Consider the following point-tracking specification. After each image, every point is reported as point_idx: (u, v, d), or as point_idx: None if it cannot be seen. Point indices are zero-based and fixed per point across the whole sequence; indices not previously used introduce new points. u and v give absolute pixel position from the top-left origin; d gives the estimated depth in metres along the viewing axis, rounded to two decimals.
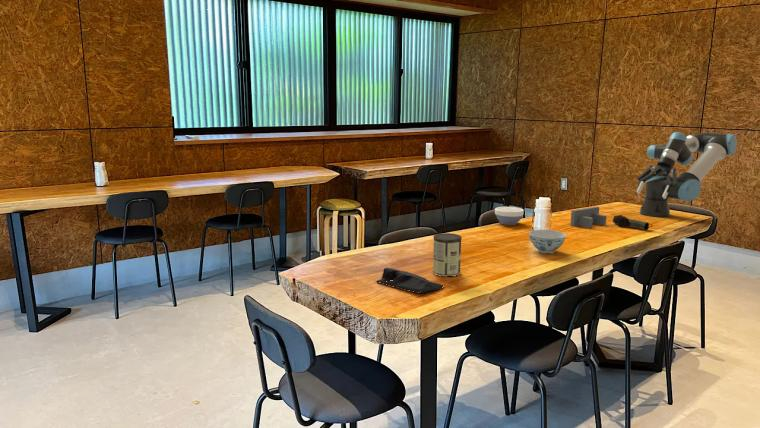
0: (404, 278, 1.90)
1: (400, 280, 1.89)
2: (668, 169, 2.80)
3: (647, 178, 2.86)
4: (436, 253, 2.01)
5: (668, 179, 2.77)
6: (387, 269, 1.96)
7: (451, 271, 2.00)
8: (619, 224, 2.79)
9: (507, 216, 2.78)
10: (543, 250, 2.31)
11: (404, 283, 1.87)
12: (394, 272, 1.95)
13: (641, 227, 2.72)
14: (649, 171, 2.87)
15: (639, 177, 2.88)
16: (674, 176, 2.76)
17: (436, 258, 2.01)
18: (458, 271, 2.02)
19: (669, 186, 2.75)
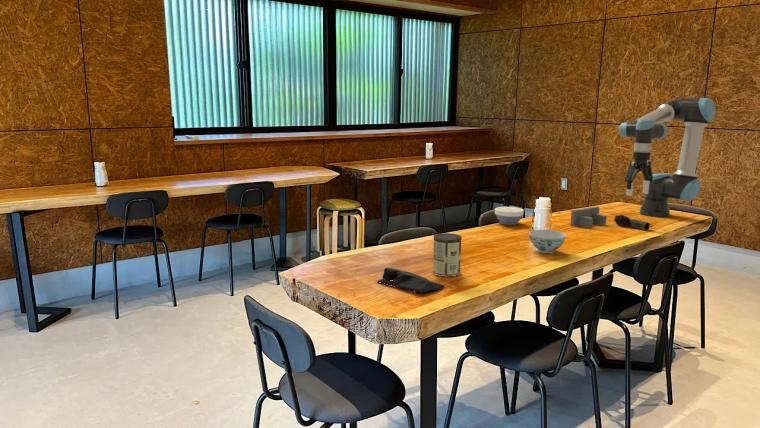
0: (405, 278, 1.90)
1: (401, 280, 1.89)
2: (646, 163, 2.71)
3: None
4: (436, 253, 2.01)
5: (648, 174, 2.73)
6: (388, 269, 1.96)
7: (451, 271, 2.00)
8: (620, 224, 2.80)
9: (507, 216, 2.78)
10: (543, 250, 2.31)
11: (405, 283, 1.87)
12: (395, 272, 1.95)
13: (642, 227, 2.73)
14: None
15: (630, 179, 2.66)
16: (651, 170, 2.74)
17: (436, 258, 2.01)
18: (458, 271, 2.02)
19: None
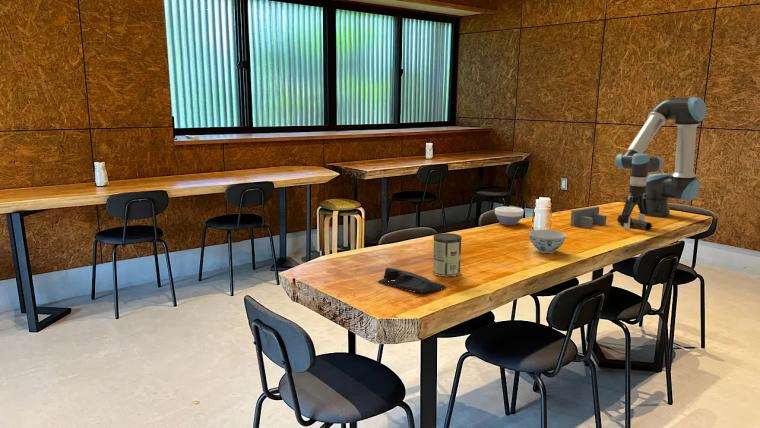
0: (406, 278, 1.90)
1: (402, 280, 1.90)
2: (642, 196, 2.74)
3: None
4: (436, 253, 2.01)
5: (643, 208, 2.76)
6: (389, 269, 1.96)
7: (451, 271, 2.00)
8: (622, 223, 2.81)
9: (507, 216, 2.78)
10: (543, 250, 2.31)
11: (406, 283, 1.87)
12: (396, 272, 1.95)
13: (643, 227, 2.73)
14: None
15: (627, 213, 2.69)
16: (646, 203, 2.77)
17: (436, 258, 2.01)
18: (458, 271, 2.02)
19: None
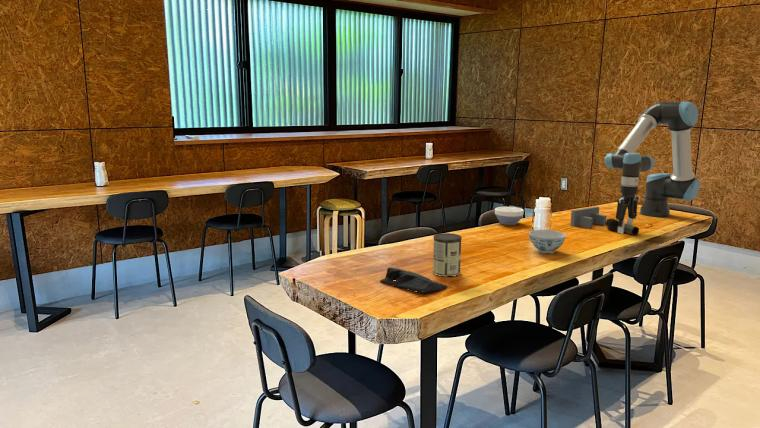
0: (407, 278, 1.90)
1: (403, 280, 1.90)
2: (634, 197, 2.65)
3: None
4: (436, 253, 2.01)
5: (633, 211, 2.66)
6: (391, 269, 1.96)
7: (451, 271, 2.00)
8: (609, 227, 2.71)
9: (507, 216, 2.78)
10: (543, 250, 2.31)
11: (407, 283, 1.87)
12: (397, 272, 1.95)
13: (629, 231, 2.63)
14: None
15: (621, 217, 2.62)
16: (636, 206, 2.67)
17: (436, 258, 2.01)
18: (458, 271, 2.02)
19: None
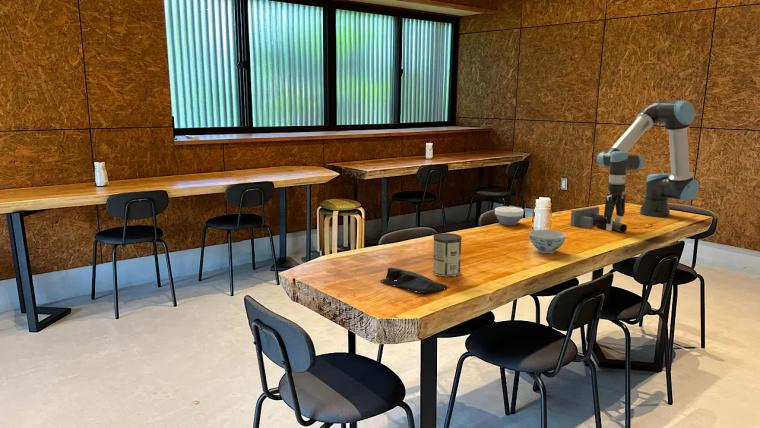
0: (408, 278, 1.90)
1: (404, 280, 1.90)
2: (621, 195, 2.70)
3: None
4: (436, 253, 2.01)
5: (621, 208, 2.71)
6: (391, 269, 1.96)
7: (451, 271, 2.00)
8: (598, 225, 2.76)
9: (507, 216, 2.78)
10: (543, 250, 2.31)
11: (407, 283, 1.87)
12: (398, 272, 1.95)
13: (617, 228, 2.67)
14: None
15: (609, 214, 2.67)
16: (624, 204, 2.73)
17: (436, 258, 2.01)
18: (458, 271, 2.02)
19: None
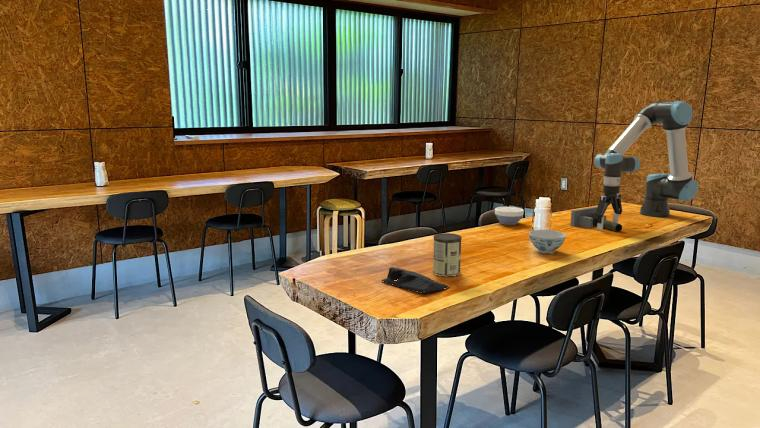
0: (409, 278, 1.90)
1: (405, 280, 1.90)
2: (616, 196, 2.73)
3: None
4: (436, 253, 2.01)
5: (617, 208, 2.75)
6: (392, 269, 1.96)
7: (451, 271, 2.00)
8: (594, 224, 2.78)
9: (507, 216, 2.78)
10: (543, 250, 2.31)
11: (408, 283, 1.87)
12: (399, 272, 1.95)
13: (613, 228, 2.70)
14: None
15: (600, 213, 2.68)
16: (620, 203, 2.76)
17: (436, 258, 2.01)
18: (458, 271, 2.02)
19: None
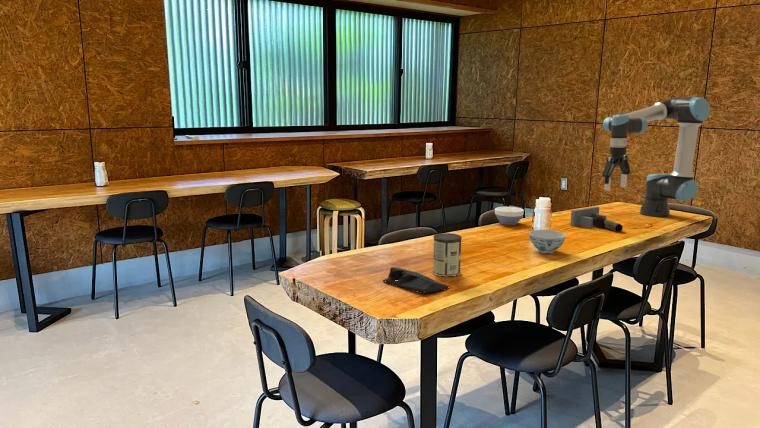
0: (409, 278, 1.90)
1: (405, 280, 1.90)
2: (623, 158, 2.75)
3: None
4: (436, 253, 2.01)
5: (625, 168, 2.77)
6: (393, 269, 1.97)
7: (451, 271, 2.00)
8: (595, 224, 2.78)
9: (507, 216, 2.78)
10: (543, 250, 2.31)
11: (409, 283, 1.87)
12: (400, 272, 1.95)
13: (613, 228, 2.69)
14: None
15: (607, 174, 2.69)
16: (628, 164, 2.78)
17: (436, 258, 2.01)
18: (458, 271, 2.02)
19: (626, 175, 2.79)
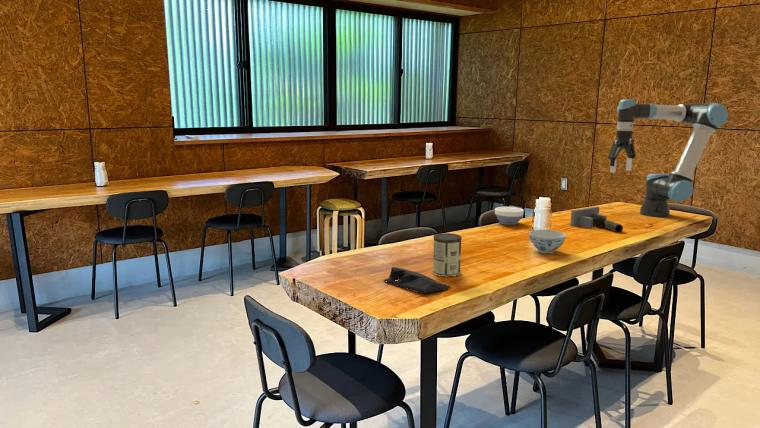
0: (410, 278, 1.90)
1: (406, 280, 1.90)
2: (629, 141, 2.83)
3: None
4: (436, 253, 2.01)
5: (631, 152, 2.86)
6: (394, 268, 1.97)
7: (451, 271, 2.00)
8: (595, 224, 2.78)
9: (507, 216, 2.78)
10: (543, 250, 2.31)
11: (409, 283, 1.87)
12: (401, 272, 1.95)
13: (613, 228, 2.69)
14: None
15: (613, 156, 2.78)
16: (633, 148, 2.86)
17: (436, 258, 2.01)
18: (458, 271, 2.02)
19: None
